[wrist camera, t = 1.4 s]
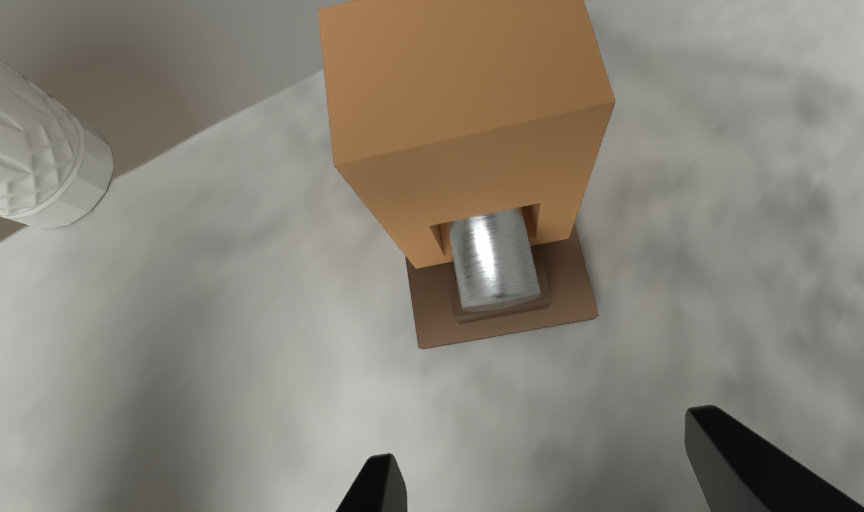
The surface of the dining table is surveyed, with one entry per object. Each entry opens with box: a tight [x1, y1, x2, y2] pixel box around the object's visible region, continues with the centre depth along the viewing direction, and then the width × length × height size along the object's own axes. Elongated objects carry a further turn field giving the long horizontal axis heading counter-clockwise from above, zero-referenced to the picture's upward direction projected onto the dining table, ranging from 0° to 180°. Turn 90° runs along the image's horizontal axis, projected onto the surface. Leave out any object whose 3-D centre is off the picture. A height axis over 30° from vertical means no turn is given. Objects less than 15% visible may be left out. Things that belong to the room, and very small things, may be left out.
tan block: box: [318, 0, 615, 269], centre depth 17 cm, size 5×7×10 cm
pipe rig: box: [405, 207, 598, 349], centre depth 22 cm, size 18×8×6 cm, turn 9°
